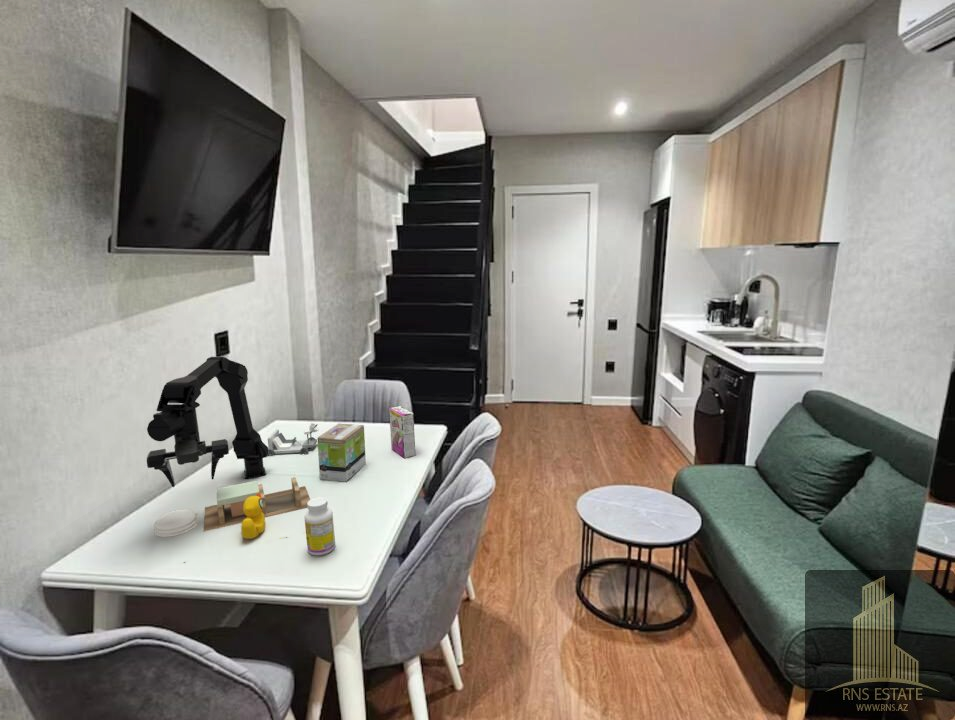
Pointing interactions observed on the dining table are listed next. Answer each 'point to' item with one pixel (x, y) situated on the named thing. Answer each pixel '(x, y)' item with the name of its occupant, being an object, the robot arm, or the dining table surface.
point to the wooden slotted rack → (271, 506)
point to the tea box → (341, 452)
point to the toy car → (291, 443)
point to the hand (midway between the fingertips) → (193, 482)
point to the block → (237, 508)
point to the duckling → (253, 517)
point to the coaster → (175, 522)
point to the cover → (236, 493)
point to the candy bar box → (402, 431)
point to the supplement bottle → (319, 527)
